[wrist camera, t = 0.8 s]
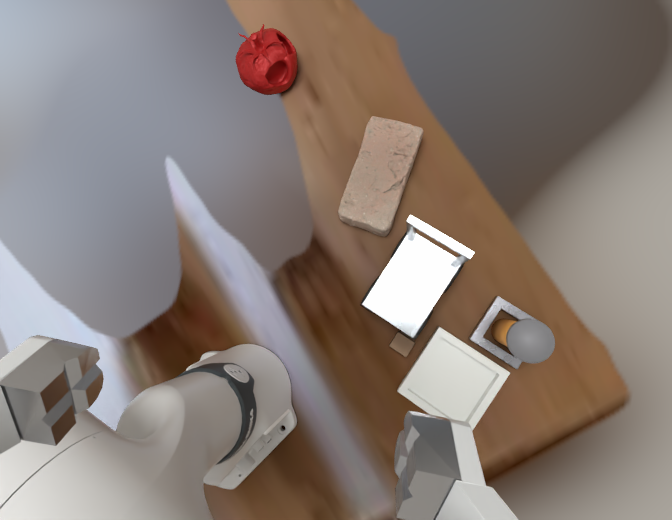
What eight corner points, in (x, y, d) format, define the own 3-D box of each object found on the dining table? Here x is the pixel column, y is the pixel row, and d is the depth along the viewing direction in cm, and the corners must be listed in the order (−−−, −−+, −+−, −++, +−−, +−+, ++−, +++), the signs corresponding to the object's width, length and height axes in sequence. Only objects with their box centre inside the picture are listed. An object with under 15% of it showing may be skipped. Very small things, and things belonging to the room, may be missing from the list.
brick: (389, 238, 58) (387, 233, 54) (339, 222, 60) (333, 216, 55) (423, 139, 59) (425, 125, 54) (373, 126, 61) (370, 112, 56)
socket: (514, 367, 53) (517, 369, 51) (468, 337, 54) (470, 339, 53) (542, 324, 53) (546, 325, 51) (495, 296, 54) (498, 296, 53)
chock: (406, 354, 56) (405, 357, 54) (390, 343, 56) (389, 345, 54) (414, 341, 56) (415, 343, 53) (398, 330, 56) (398, 331, 54)
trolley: (413, 338, 56) (415, 359, 37) (362, 304, 58) (340, 309, 39) (461, 263, 56) (487, 247, 37) (409, 232, 57) (409, 202, 39)
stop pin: (510, 355, 53) (539, 372, 41) (480, 335, 54) (499, 346, 42) (529, 326, 53) (563, 335, 41) (498, 307, 54) (523, 311, 42)
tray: (464, 434, 53) (466, 440, 51) (397, 388, 56) (397, 391, 54) (506, 370, 53) (510, 372, 51) (438, 325, 55) (439, 327, 53)
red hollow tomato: (241, 97, 66) (213, 65, 56) (258, 42, 66) (232, 3, 57) (293, 107, 63) (271, 76, 54) (310, 51, 63) (292, 10, 54)
